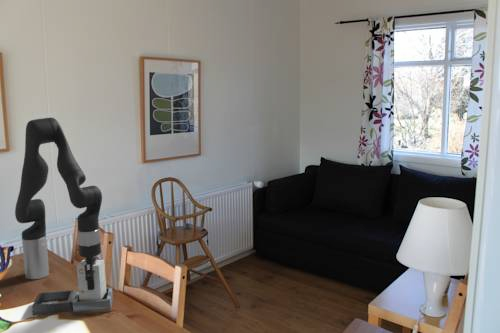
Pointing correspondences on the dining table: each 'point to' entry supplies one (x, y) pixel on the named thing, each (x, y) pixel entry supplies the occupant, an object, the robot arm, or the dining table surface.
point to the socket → (53, 307)
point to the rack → (93, 304)
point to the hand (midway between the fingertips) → (92, 285)
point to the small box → (98, 281)
